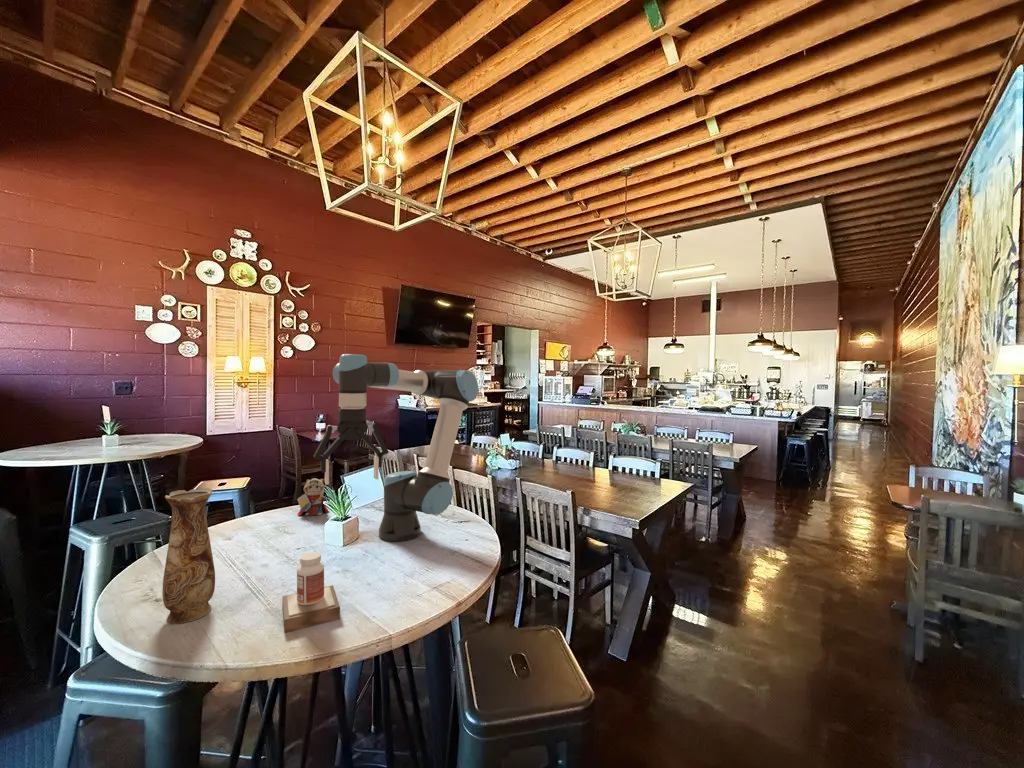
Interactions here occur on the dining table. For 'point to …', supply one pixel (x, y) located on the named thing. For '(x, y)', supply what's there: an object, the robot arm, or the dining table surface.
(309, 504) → the figurine
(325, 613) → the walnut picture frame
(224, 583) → the dining table surface
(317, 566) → the pill bottle
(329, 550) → the dining table surface
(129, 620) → the dining table surface
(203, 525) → the vase
